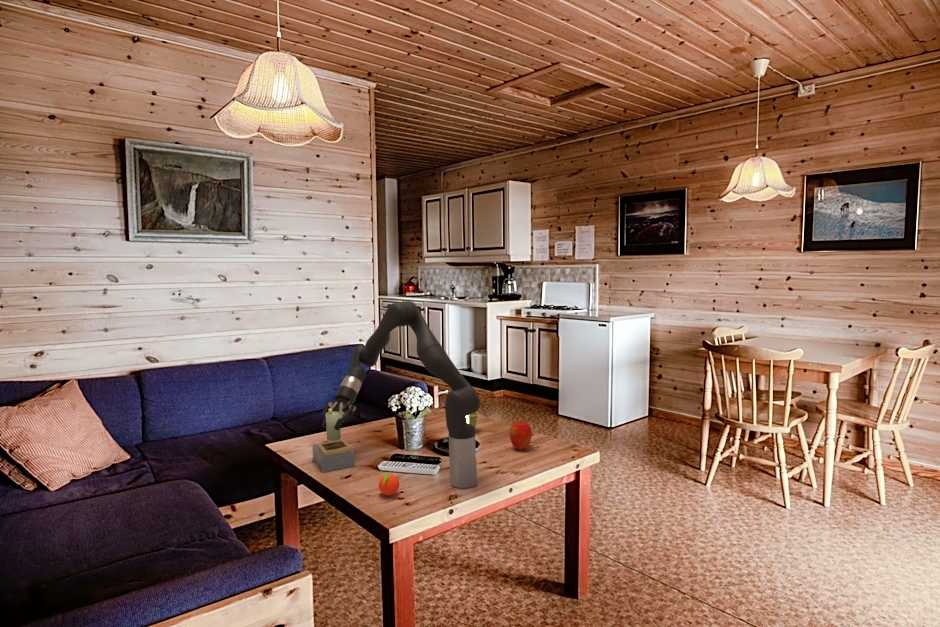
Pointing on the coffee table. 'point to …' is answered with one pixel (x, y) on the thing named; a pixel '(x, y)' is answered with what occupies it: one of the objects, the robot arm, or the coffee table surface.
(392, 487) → the clementine
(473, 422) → the plant pot
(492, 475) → the coffee table surface
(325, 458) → the grey open box
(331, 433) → the pale green candle
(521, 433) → the apple
